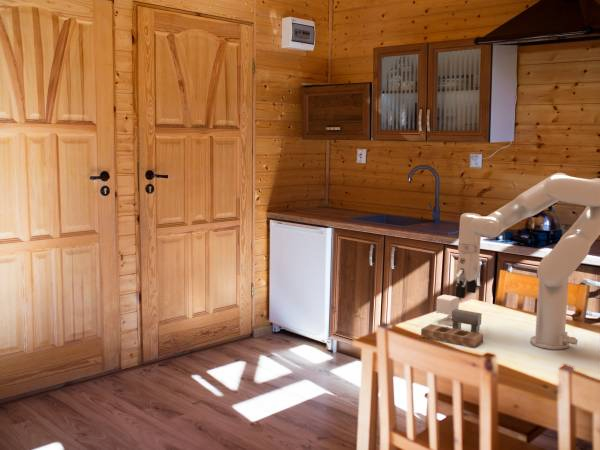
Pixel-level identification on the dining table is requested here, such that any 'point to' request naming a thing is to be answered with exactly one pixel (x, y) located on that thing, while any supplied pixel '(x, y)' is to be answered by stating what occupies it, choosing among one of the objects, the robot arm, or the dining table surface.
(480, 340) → the wooden frame
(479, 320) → the grey rectangular block
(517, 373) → the dining table surface
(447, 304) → the security camera
